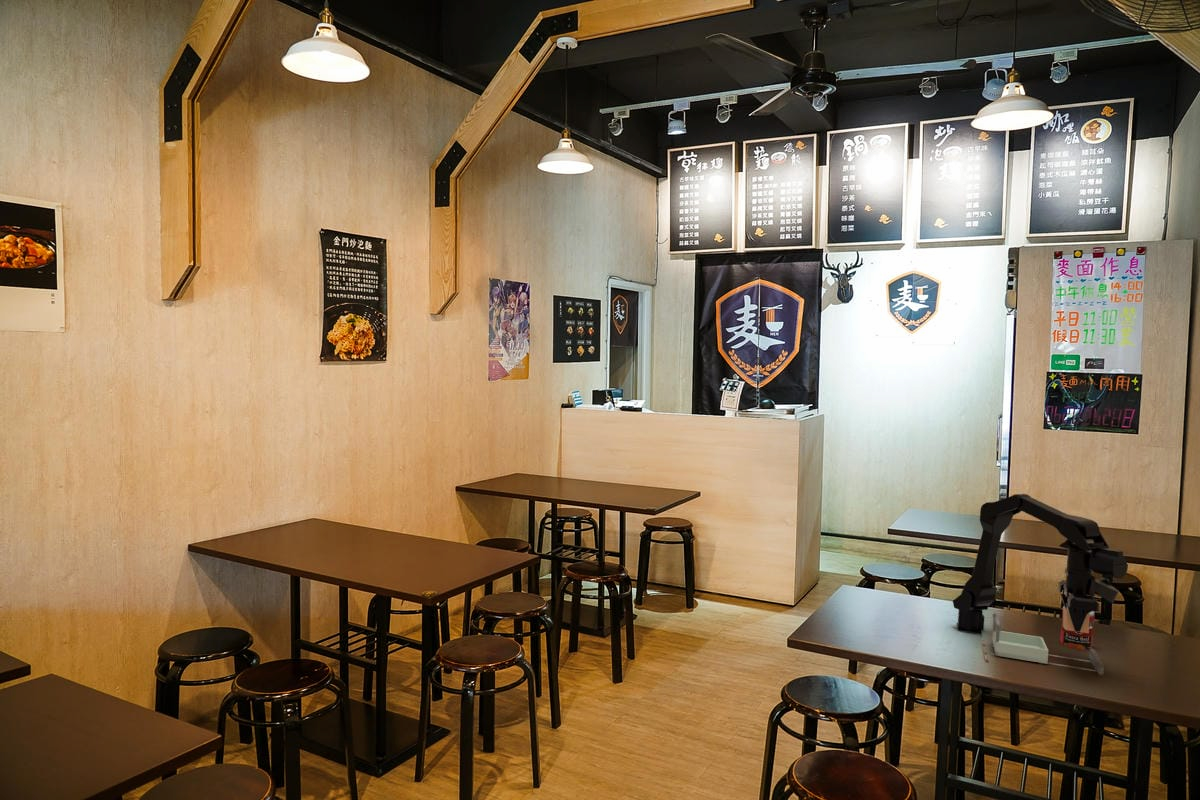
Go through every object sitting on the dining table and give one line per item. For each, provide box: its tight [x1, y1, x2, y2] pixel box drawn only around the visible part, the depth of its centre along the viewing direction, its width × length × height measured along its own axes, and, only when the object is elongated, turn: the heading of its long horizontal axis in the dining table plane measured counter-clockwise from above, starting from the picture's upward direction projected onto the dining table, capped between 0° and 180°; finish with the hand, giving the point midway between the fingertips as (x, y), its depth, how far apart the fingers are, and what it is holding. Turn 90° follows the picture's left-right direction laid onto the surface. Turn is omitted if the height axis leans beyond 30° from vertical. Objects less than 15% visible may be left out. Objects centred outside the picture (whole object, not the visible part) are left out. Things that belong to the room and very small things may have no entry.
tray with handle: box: [991, 612, 1049, 665], centre depth 208 cm, size 12×11×9 cm
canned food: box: [1059, 605, 1095, 651], centre depth 218 cm, size 8×8×11 cm
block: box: [1062, 606, 1090, 633], centre depth 200 cm, size 5×5×5 cm
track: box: [980, 639, 1105, 676], centre depth 206 cm, size 27×16×4 cm, turn 67°
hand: (1075, 627), depth 200 cm, fingers closed on block, 5 cm apart
